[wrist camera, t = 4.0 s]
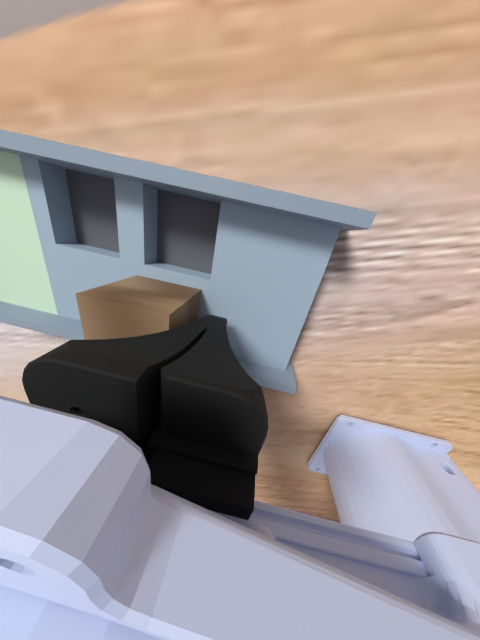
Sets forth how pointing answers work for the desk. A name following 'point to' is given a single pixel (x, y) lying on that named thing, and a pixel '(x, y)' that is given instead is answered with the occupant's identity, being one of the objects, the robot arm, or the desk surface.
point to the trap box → (161, 245)
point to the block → (136, 308)
